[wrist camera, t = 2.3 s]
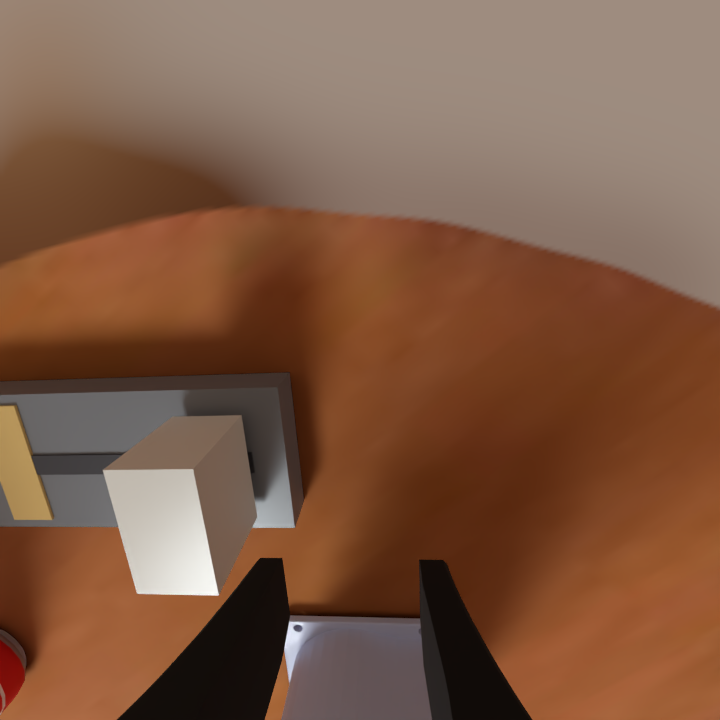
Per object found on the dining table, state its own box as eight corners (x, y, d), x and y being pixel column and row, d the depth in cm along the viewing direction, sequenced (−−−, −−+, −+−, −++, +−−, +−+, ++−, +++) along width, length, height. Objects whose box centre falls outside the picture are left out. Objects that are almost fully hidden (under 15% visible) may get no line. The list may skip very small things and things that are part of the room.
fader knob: (241, 415, 15) (192, 469, 12) (257, 517, 17) (218, 595, 13) (172, 416, 16) (102, 470, 12) (193, 516, 17) (137, 593, 13)
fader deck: (289, 372, 17) (276, 388, 15) (304, 500, 19) (294, 529, 17) (-22, 382, 19) (-72, 398, 17) (21, 500, 21) (-20, 528, 19)
